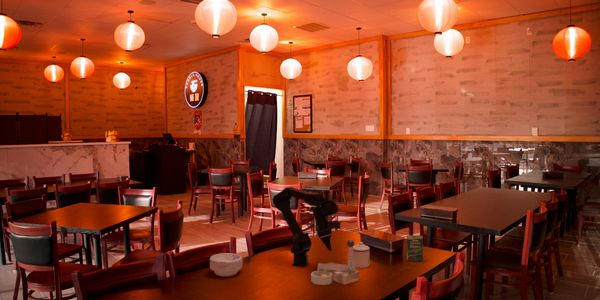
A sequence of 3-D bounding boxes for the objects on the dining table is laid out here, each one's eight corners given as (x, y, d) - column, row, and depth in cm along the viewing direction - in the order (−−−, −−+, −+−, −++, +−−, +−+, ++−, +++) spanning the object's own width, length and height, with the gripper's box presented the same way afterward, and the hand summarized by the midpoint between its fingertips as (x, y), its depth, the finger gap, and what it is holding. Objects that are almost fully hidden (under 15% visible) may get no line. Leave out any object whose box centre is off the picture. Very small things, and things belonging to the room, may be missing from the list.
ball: (319, 276, 193) (327, 276, 193) (320, 272, 196) (328, 272, 196) (319, 283, 194) (327, 284, 193) (320, 279, 197) (328, 279, 197)
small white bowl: (308, 283, 194) (308, 275, 194) (315, 277, 203) (315, 269, 203) (328, 286, 191) (328, 278, 191) (334, 279, 200) (334, 271, 199)
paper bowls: (248, 271, 212) (248, 254, 212) (229, 280, 199) (229, 263, 198) (223, 266, 219) (223, 250, 219) (203, 275, 206) (202, 259, 206)
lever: (316, 273, 195) (316, 239, 194) (318, 267, 202) (318, 235, 202) (354, 275, 192) (354, 241, 191) (355, 269, 199) (355, 237, 199)
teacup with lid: (372, 267, 216) (372, 244, 216) (355, 269, 214) (355, 245, 214) (363, 260, 228) (363, 238, 227) (347, 261, 226) (347, 239, 225)
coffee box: (407, 261, 226) (407, 236, 225) (406, 259, 229) (406, 234, 228) (423, 261, 225) (423, 236, 224) (422, 260, 228) (422, 235, 227)
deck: (317, 274, 207) (317, 265, 206) (332, 270, 212) (331, 262, 212) (344, 284, 193) (344, 275, 192) (359, 280, 198) (359, 271, 198)
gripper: (336, 213, 201) (347, 246, 198) (337, 214, 220) (346, 245, 216) (313, 220, 202) (323, 253, 199) (315, 220, 220) (325, 251, 217)
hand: (330, 250), depth 208 cm, fingers closed
